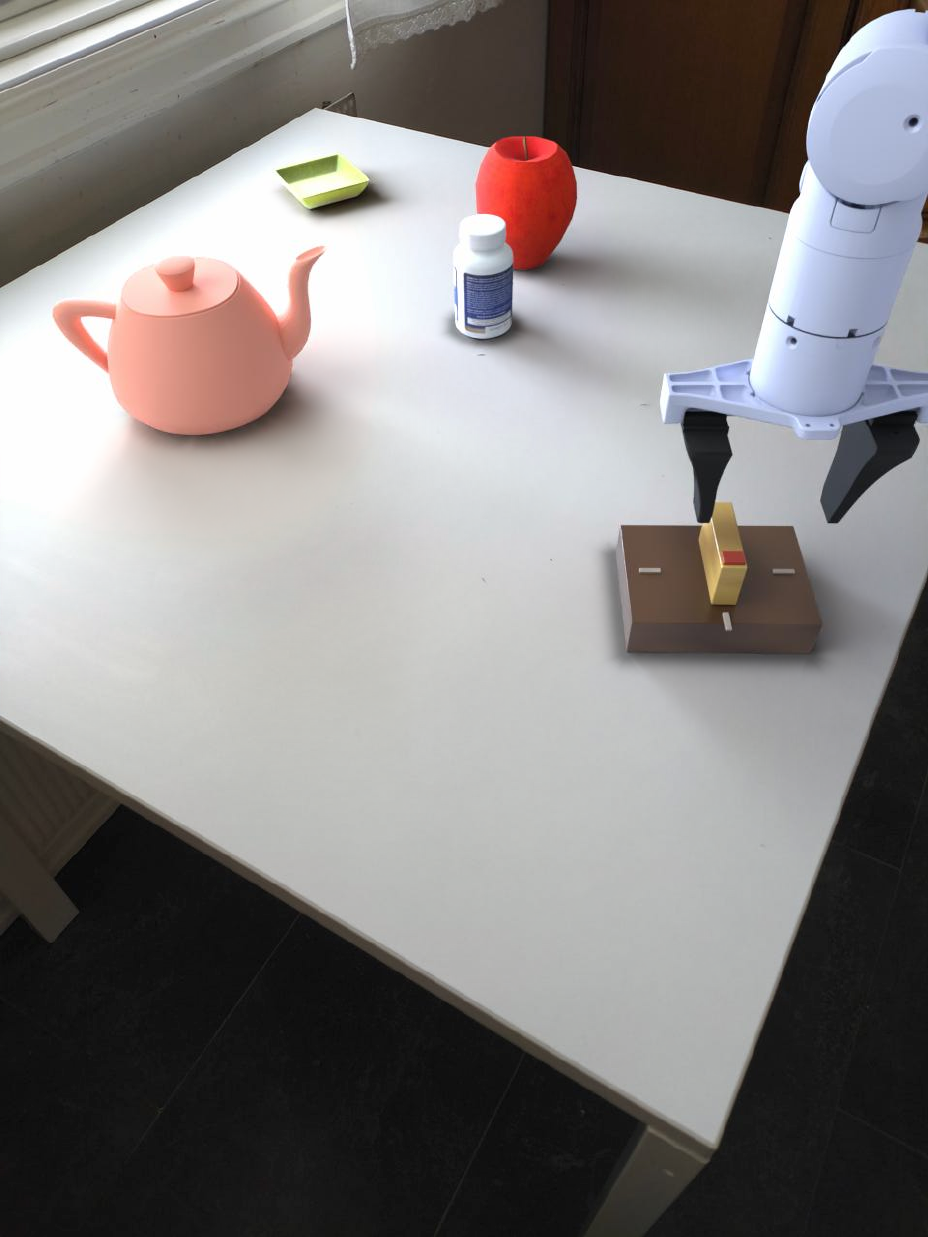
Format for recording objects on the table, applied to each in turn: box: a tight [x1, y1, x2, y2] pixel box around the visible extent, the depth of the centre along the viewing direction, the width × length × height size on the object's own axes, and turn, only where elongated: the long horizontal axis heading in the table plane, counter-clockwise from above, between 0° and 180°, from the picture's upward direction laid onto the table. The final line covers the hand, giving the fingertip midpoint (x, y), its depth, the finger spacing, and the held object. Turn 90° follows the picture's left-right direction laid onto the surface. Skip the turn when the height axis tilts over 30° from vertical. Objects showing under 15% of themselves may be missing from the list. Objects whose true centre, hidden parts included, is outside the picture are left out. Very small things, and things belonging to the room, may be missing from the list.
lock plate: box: [615, 524, 824, 655], centre depth 61 cm, size 12×10×3 cm
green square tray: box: [272, 153, 371, 210], centre depth 104 cm, size 9×9×2 cm
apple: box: [474, 135, 578, 271], centre depth 88 cm, size 10×10×12 cm
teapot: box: [52, 245, 327, 436], centre depth 74 cm, size 22×15×12 cm
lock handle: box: [699, 501, 748, 605], centre depth 58 cm, size 6×2×4 cm, turn 178°
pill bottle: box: [452, 214, 514, 340], centre depth 82 cm, size 5×5×10 cm
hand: (765, 512), depth 55 cm, fingers open, 7 cm apart
